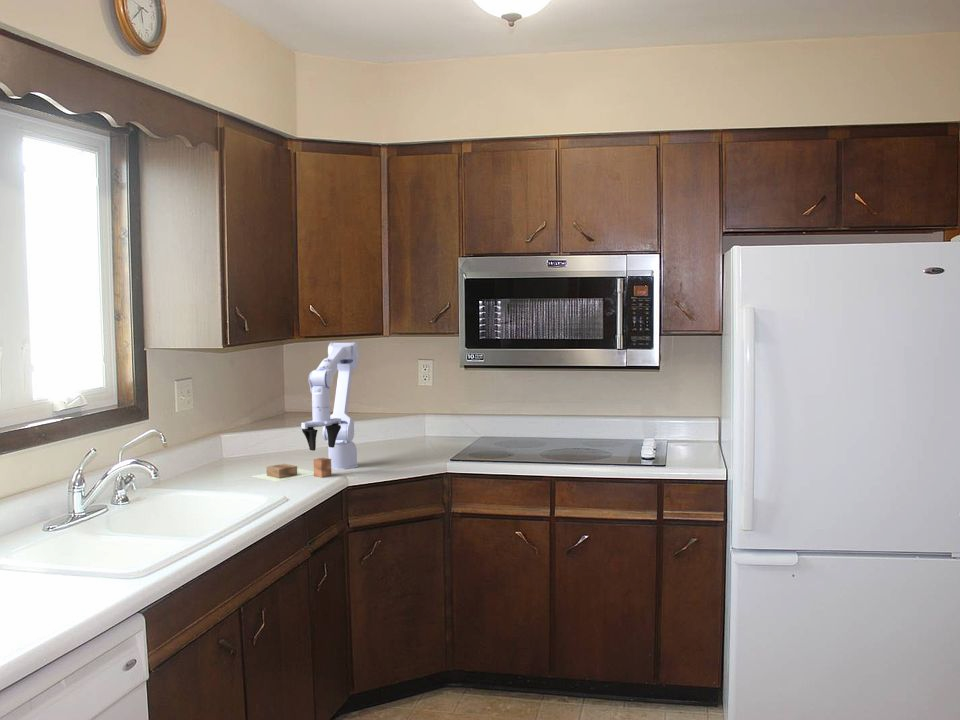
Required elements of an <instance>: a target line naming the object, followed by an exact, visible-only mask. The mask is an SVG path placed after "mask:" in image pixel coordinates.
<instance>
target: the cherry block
mask: <svg viewBox="0 0 960 720" xmlns="http://www.w3.org/2000/svg"><path fill="white" fill-rule="evenodd" d="M313 471H314V475H313V477H315V478H321V479H322V478H327V477H332V469H331V459H329V458H328V457H317V458H314V459H313Z"/></svg>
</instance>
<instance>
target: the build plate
mask: <svg viewBox="0 0 960 720" xmlns="http://www.w3.org/2000/svg"><path fill="white" fill-rule="evenodd" d="M309 476H314V470H308V469H302V468H298V467H297V475H296V476H290V477H285V478H280V479H279V478H274V477H270V476H267V473H262V474H257V475H252V476H251V477H252V478H256V479H257V478H258V479H262V480H267V481H271V482H276V483H278V482H283V481H287V480H294V479H298V478H304V477H309Z"/></svg>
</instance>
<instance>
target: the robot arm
mask: <svg viewBox="0 0 960 720" xmlns="http://www.w3.org/2000/svg"><path fill="white" fill-rule="evenodd" d="M327 355H328V356H327V357H326V358H325V357H324V359H323V360H322V361H321V362H320V363H319V365H318V366H317V368H316V369H314V370H312V371H310V373H309V375H308V384H309V389H310V390H309V391H310V393H311V408H312V409H311V411H312V412H311V413H312V420H308V421H305V422H301V425H300V426H301V431H302V434H303V435H304V436H305V439H306V441H307V445H308V448H309V451H316V447H317V446H316V445H317V434H318V429H315V428H320V427H322V430H321V433H322V438H323V440H324V441H325V442H326V444H327V446H328V447H327V453H328V457H327V458H329V459H331V470H336V471H337V470H348V469H354V468H359V465H358V457H357V456H358V455H357V454H358V450H357V445H356V443H355V442H353V440H354V437H355V421H354V419H352V417H350V416H349V414H348V411H349V403H350V393H351V388H352V387H351V385H352V379H353V372H354V370H355V369H357V368H358V365H359V362H360V361H359V358H360V347H359V344H358V343H357V342H356V341H353V342H332V341H331V342H330V343H329V344H328V347H327ZM337 371H338V375H337V381H336V382H337V383H336V389H335V394H334V395H335V396H334V405H333V413H332V414H331V387H332V386H333V381H334V376H335V374H336V373H337Z"/></svg>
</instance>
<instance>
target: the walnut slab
mask: <svg viewBox="0 0 960 720" xmlns="http://www.w3.org/2000/svg"><path fill="white" fill-rule="evenodd" d="M297 468H298V466H297V465H292V464H288V463H280V464H275V465H268V466H266V468H265V469H266V474H267V476H270V477H274V478H279V479H280V478H285V477H290V476H296V475H297Z"/></svg>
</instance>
